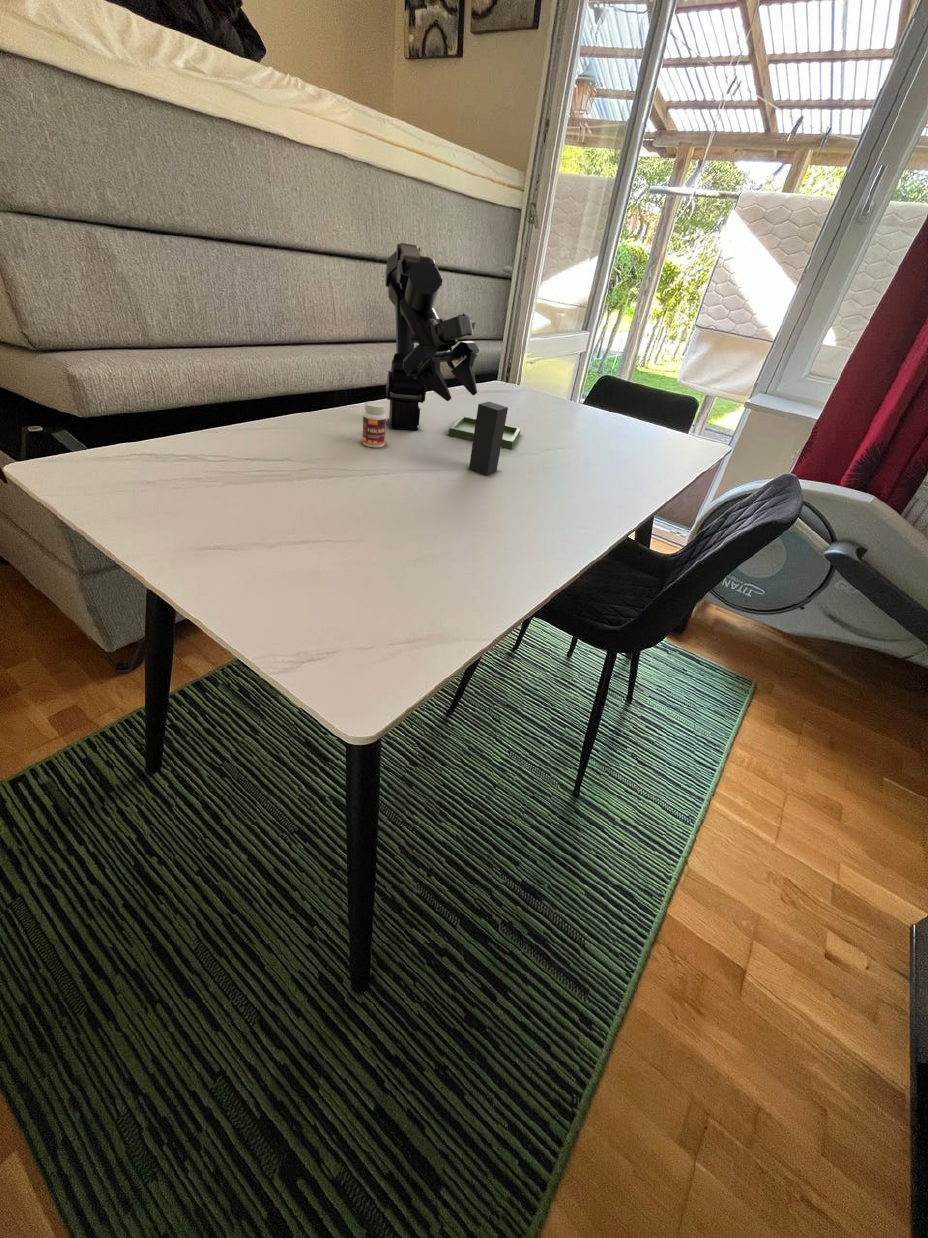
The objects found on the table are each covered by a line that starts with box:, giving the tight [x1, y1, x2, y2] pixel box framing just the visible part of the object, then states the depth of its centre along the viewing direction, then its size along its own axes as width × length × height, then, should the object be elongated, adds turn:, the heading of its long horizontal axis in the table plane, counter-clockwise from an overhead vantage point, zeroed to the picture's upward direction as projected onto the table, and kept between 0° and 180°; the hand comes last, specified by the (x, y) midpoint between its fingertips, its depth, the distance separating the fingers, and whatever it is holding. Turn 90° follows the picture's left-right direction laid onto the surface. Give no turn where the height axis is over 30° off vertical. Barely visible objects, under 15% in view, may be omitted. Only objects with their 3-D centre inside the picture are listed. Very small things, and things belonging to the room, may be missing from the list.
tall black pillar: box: [468, 401, 509, 476], centre depth 104 cm, size 4×4×13 cm
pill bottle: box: [362, 400, 387, 449], centre depth 109 cm, size 5×5×8 cm
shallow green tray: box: [448, 415, 522, 450], centre depth 127 cm, size 16×13×2 cm
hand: (462, 396), depth 103 cm, fingers open, 9 cm apart
